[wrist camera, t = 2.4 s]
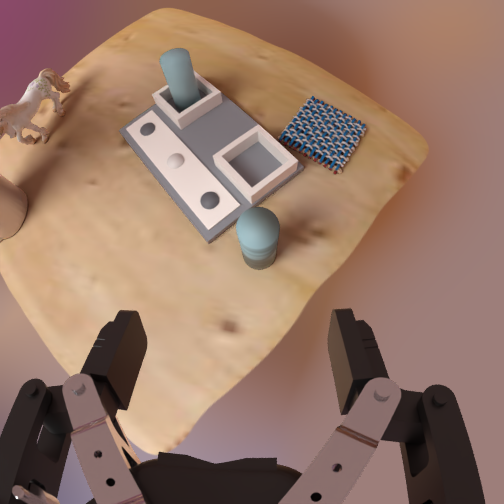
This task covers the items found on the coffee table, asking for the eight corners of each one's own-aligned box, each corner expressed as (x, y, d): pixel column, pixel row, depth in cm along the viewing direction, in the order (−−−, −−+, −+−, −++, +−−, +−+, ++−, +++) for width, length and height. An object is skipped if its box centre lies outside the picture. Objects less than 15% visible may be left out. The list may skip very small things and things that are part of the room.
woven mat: (367, 130, 44) (371, 123, 42) (338, 179, 42) (341, 172, 40) (309, 99, 45) (310, 91, 43) (274, 143, 43) (274, 135, 41)
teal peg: (257, 276, 38) (255, 256, 29) (236, 251, 39) (227, 224, 29) (282, 255, 39) (288, 229, 29) (261, 231, 40) (260, 199, 30)
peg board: (208, 243, 39) (189, 211, 29) (120, 133, 45) (92, 90, 34) (303, 170, 42) (313, 121, 31) (201, 79, 47) (189, 30, 36)
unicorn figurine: (19, 180, 44) (-26, 145, 31) (50, 97, 49) (19, 57, 36) (46, 176, 44) (0, 136, 31) (77, 89, 48) (47, 45, 35)
